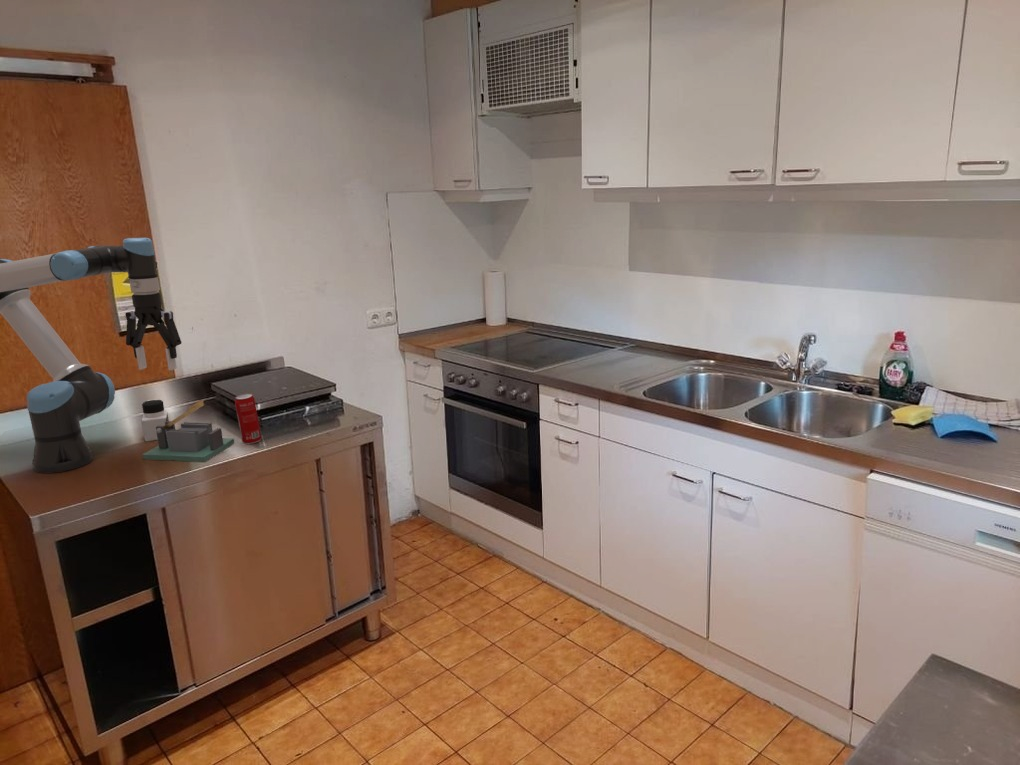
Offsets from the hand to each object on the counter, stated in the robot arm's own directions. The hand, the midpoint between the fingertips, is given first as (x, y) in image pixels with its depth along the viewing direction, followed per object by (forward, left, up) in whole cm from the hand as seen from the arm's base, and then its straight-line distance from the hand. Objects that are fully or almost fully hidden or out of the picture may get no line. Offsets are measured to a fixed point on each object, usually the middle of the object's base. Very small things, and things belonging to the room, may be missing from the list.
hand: (157, 368), depth 219 cm
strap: (+6, 0, -15) cm, 16 cm away
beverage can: (+21, +10, -26) cm, 35 cm away
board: (+7, 0, -25) cm, 26 cm away
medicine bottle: (-12, +11, -26) cm, 30 cm away
